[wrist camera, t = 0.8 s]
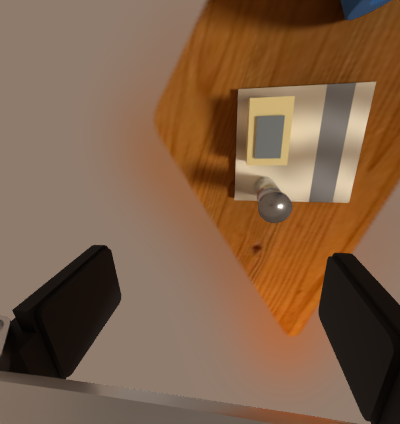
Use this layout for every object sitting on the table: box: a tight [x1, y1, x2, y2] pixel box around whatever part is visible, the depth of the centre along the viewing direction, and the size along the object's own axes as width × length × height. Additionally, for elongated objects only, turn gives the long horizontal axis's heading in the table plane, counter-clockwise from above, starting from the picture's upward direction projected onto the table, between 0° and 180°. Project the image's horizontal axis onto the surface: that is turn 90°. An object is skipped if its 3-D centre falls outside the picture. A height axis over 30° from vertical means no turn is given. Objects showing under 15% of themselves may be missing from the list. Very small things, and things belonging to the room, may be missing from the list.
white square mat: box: [235, 82, 376, 203], centre depth 28 cm, size 14×15×1 cm
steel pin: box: [254, 177, 292, 223], centre depth 26 cm, size 3×3×9 cm
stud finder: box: [245, 96, 295, 165], centre depth 25 cm, size 7×4×4 cm, turn 1°
